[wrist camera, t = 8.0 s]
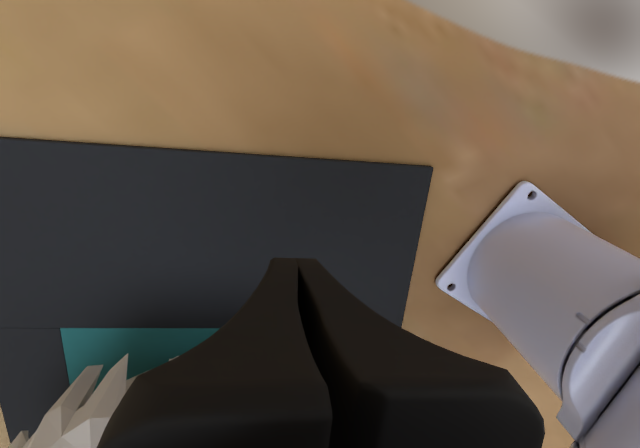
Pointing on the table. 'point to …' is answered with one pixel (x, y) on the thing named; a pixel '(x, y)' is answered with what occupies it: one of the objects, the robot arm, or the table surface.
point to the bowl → (80, 410)
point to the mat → (175, 250)
